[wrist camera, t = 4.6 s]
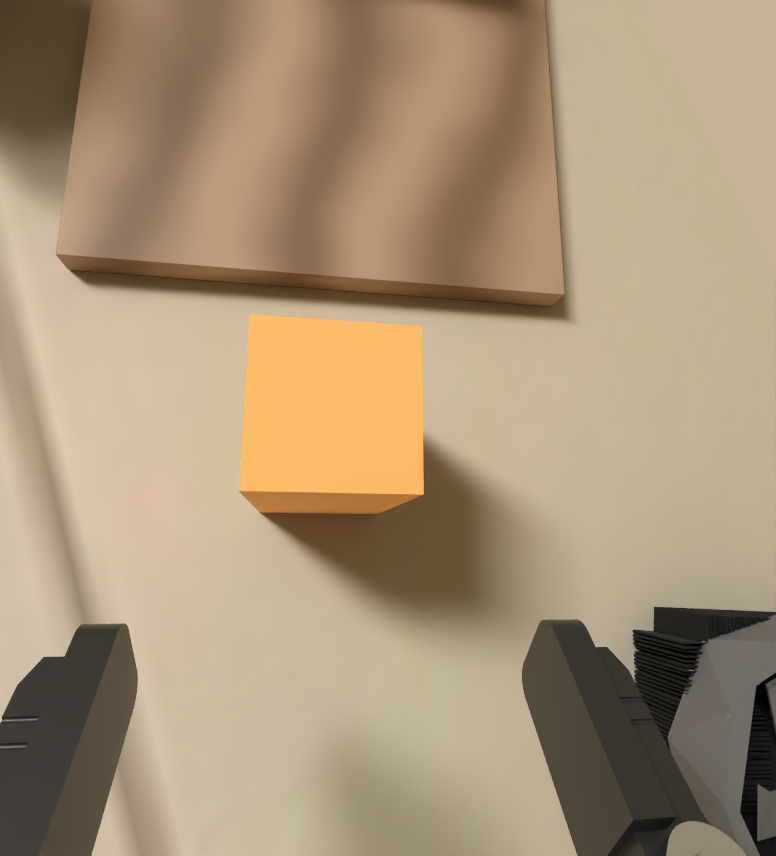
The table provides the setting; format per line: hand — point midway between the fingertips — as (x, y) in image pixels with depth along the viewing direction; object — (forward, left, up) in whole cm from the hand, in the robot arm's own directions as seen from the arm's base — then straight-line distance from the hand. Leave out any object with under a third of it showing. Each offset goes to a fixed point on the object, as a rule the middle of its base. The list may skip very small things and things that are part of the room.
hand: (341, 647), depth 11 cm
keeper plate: (0, +21, -10) cm, 24 cm away
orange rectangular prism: (0, +5, -10) cm, 11 cm away
